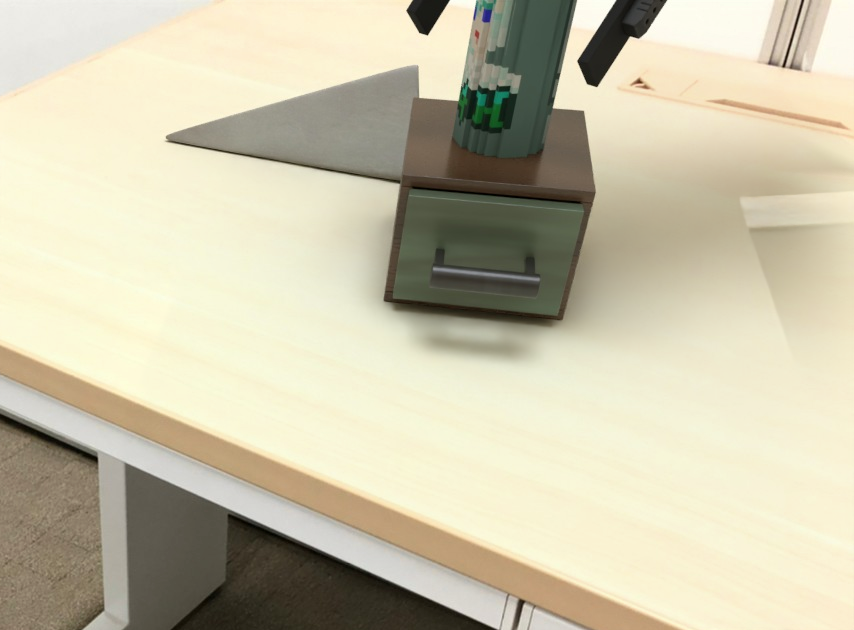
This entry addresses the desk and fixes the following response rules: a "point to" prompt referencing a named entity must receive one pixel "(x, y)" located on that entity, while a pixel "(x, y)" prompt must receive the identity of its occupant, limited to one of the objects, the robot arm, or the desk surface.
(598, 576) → the desk surface
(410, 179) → the cabinet
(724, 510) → the desk surface
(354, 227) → the desk surface
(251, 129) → the grey triangular wedge
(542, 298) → the drawer
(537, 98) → the can
